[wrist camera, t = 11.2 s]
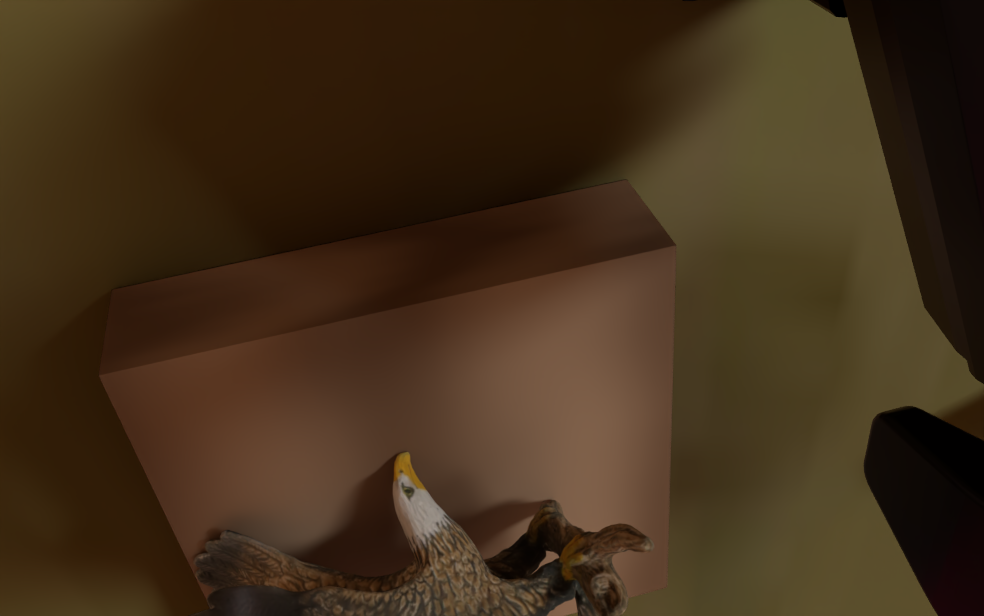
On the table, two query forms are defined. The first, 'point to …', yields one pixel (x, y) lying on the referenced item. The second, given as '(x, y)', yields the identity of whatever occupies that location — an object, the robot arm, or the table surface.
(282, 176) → the table surface
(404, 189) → the table surface
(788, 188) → the table surface
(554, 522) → the eagle figurine
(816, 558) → the table surface
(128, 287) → the plinth
